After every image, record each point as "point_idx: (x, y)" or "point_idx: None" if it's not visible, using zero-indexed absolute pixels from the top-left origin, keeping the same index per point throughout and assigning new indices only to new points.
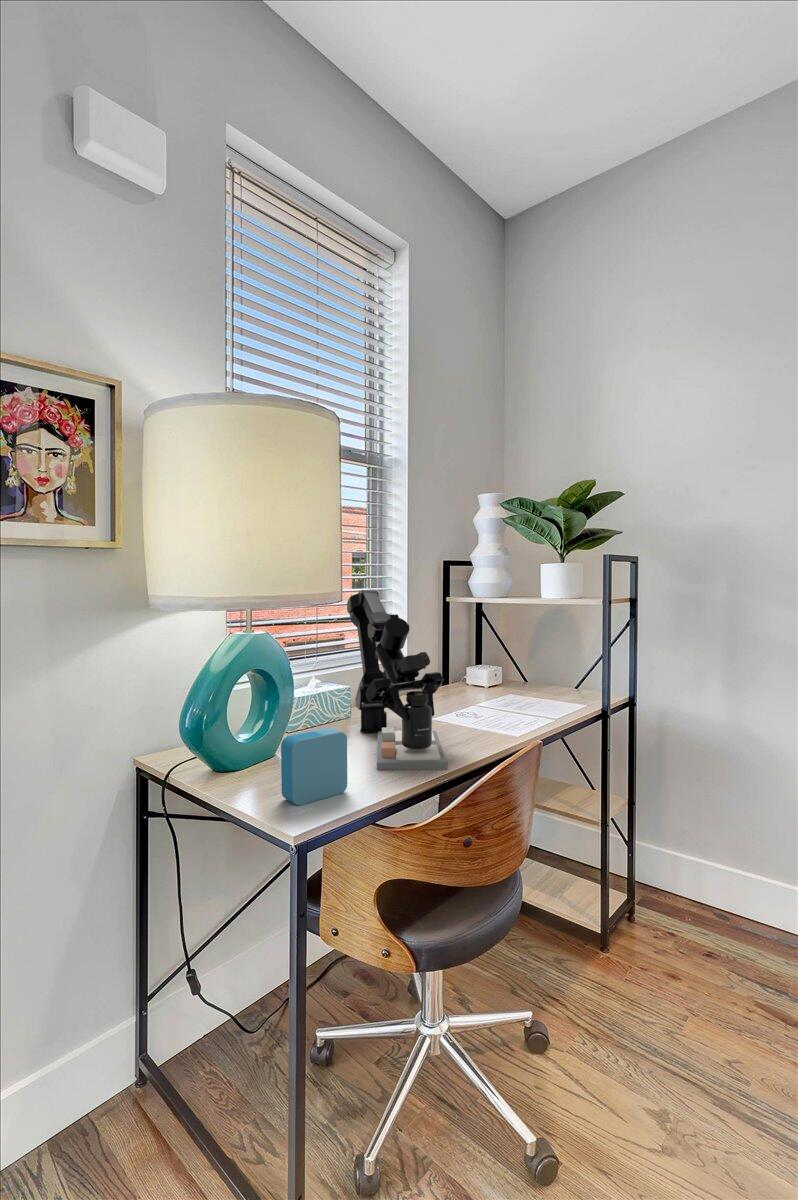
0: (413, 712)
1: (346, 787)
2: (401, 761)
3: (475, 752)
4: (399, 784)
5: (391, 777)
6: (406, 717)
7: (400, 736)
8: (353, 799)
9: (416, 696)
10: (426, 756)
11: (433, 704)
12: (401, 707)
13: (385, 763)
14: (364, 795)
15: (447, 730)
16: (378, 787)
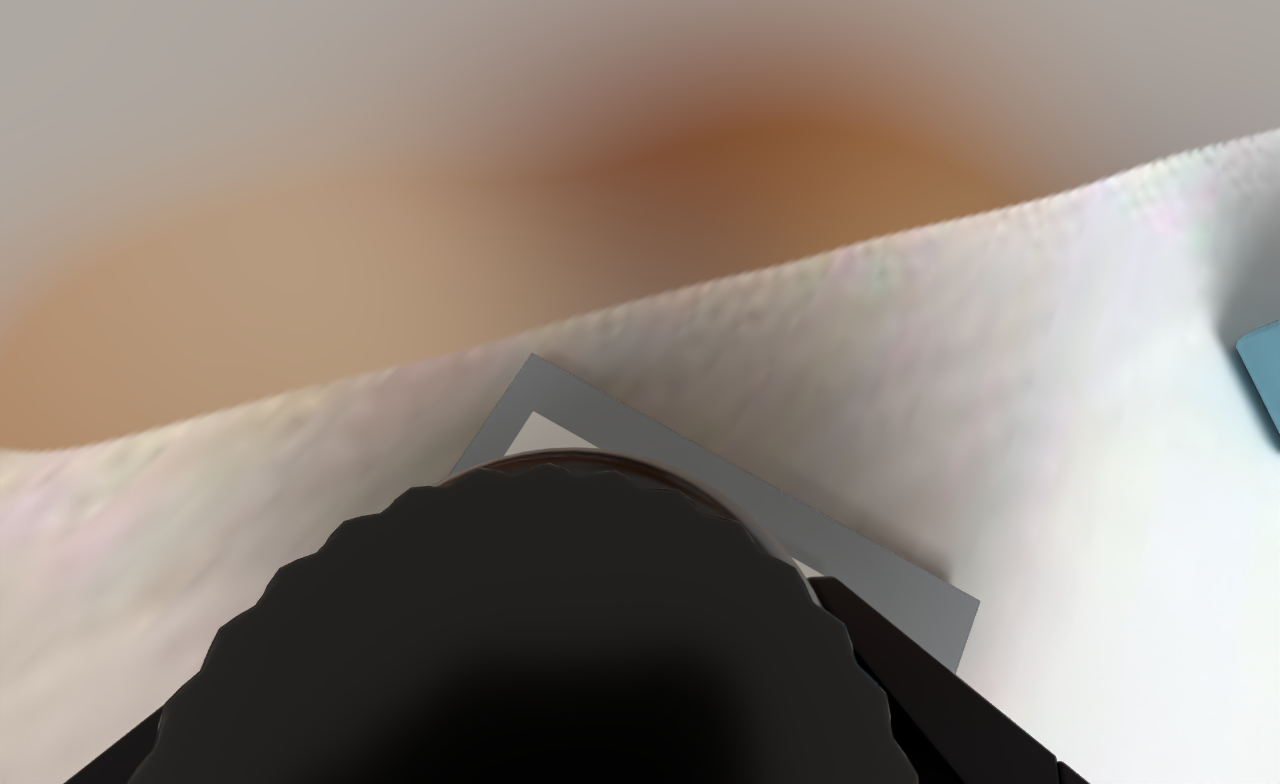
0: (763, 529)
1: (1243, 336)
2: (801, 531)
3: (78, 571)
4: (916, 303)
5: (914, 421)
6: (846, 586)
7: None
8: (1197, 253)
9: (741, 534)
10: None
11: (126, 735)
12: (985, 709)
13: (918, 567)
14: (1135, 268)
15: None
16: (1037, 323)
